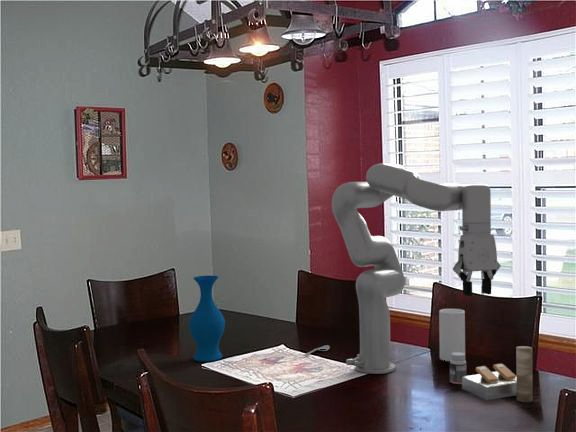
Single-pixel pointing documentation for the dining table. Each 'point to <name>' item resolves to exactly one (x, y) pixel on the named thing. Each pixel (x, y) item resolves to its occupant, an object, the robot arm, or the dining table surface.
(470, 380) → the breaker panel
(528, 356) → the dowel post
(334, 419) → the dining table surface
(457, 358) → the pill bottle
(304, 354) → the spoon
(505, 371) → the paddle
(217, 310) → the vase
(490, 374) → the paddle
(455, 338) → the white tall cylinder
